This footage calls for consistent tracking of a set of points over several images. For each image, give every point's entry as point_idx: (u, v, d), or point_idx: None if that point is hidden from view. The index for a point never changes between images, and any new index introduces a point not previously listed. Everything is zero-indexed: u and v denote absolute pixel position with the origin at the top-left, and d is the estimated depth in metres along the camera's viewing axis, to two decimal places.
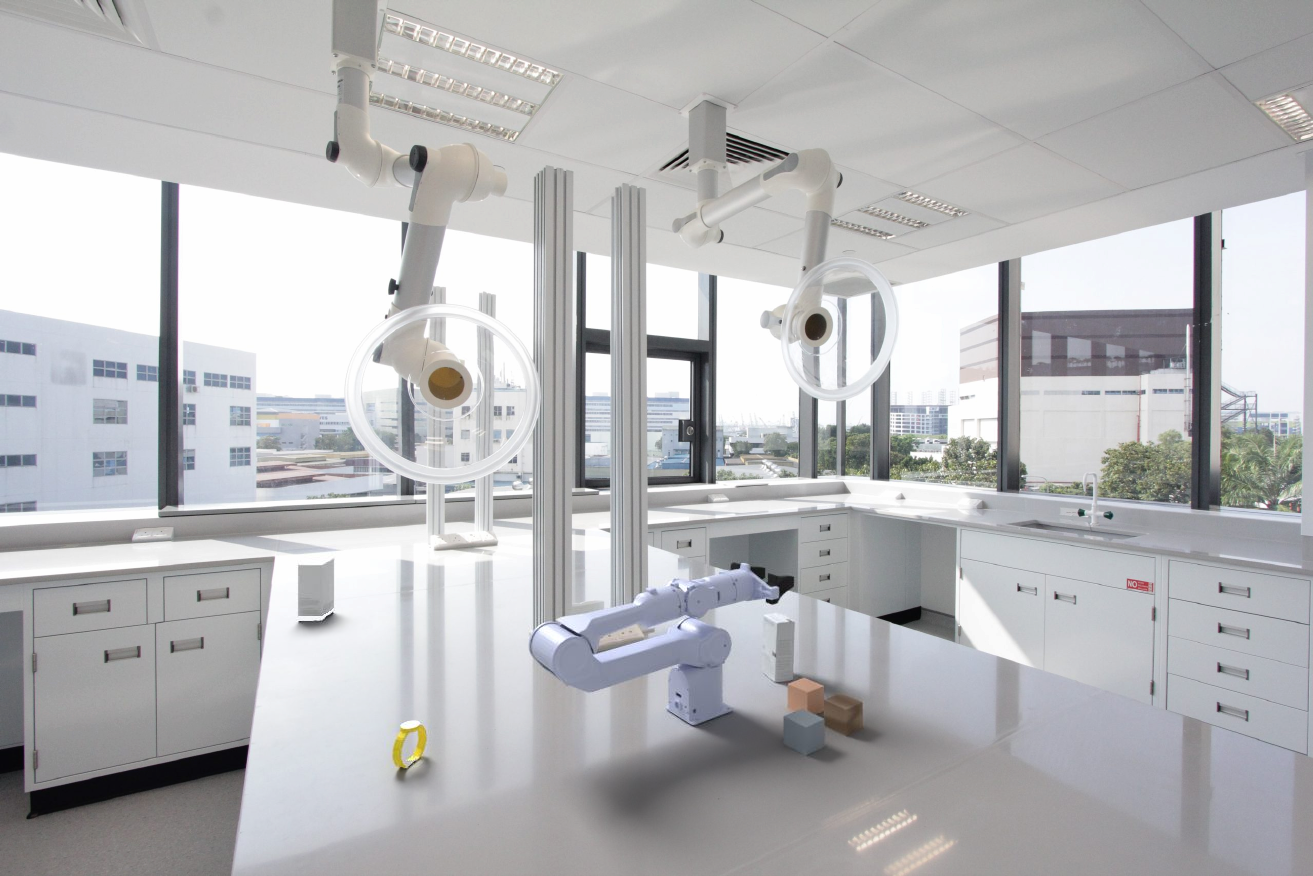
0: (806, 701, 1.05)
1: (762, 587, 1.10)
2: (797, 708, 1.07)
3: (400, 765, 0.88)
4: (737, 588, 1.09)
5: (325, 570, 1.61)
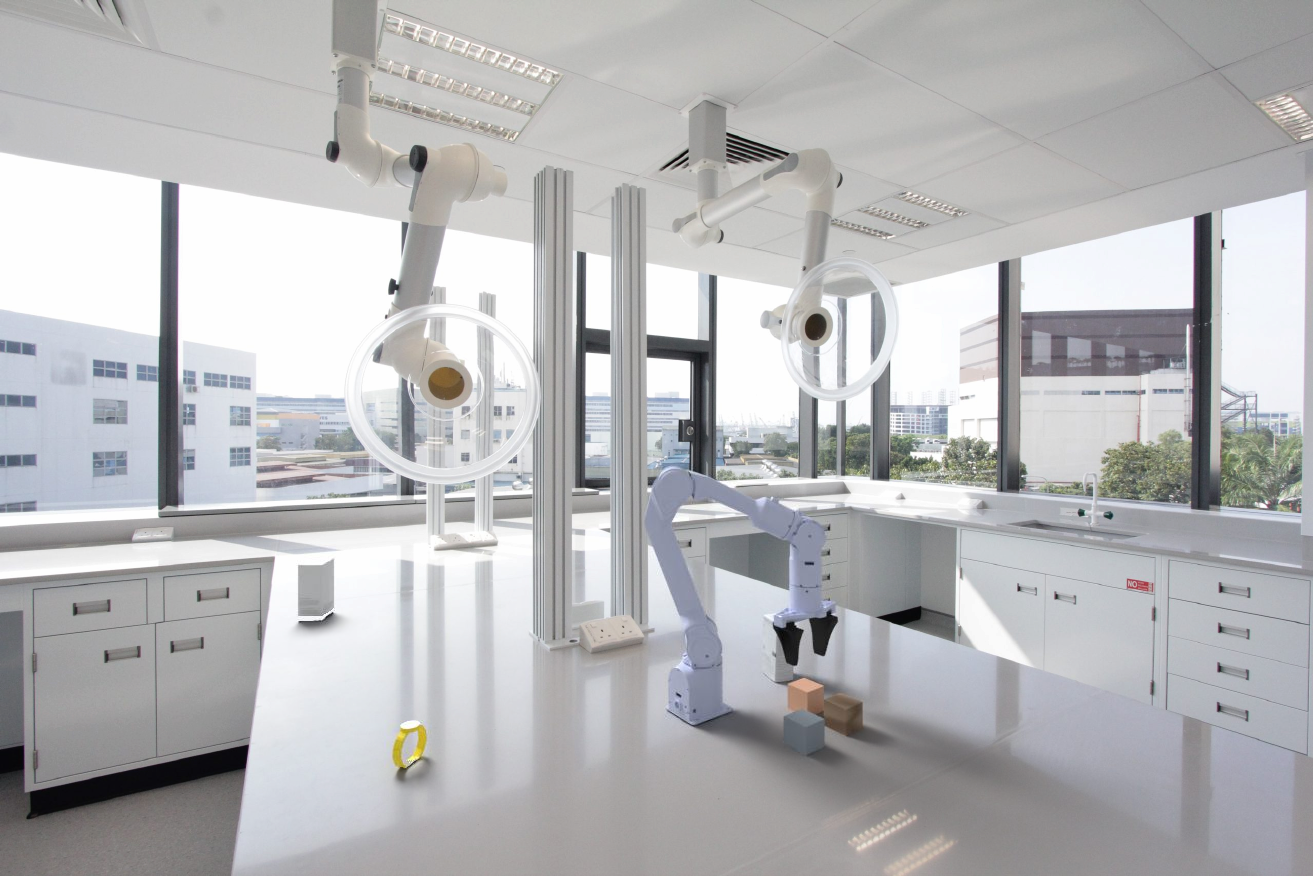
0: (805, 700, 1.05)
1: (790, 615, 1.04)
2: (797, 708, 1.07)
3: (400, 765, 0.88)
4: (798, 588, 1.05)
5: (325, 570, 1.61)
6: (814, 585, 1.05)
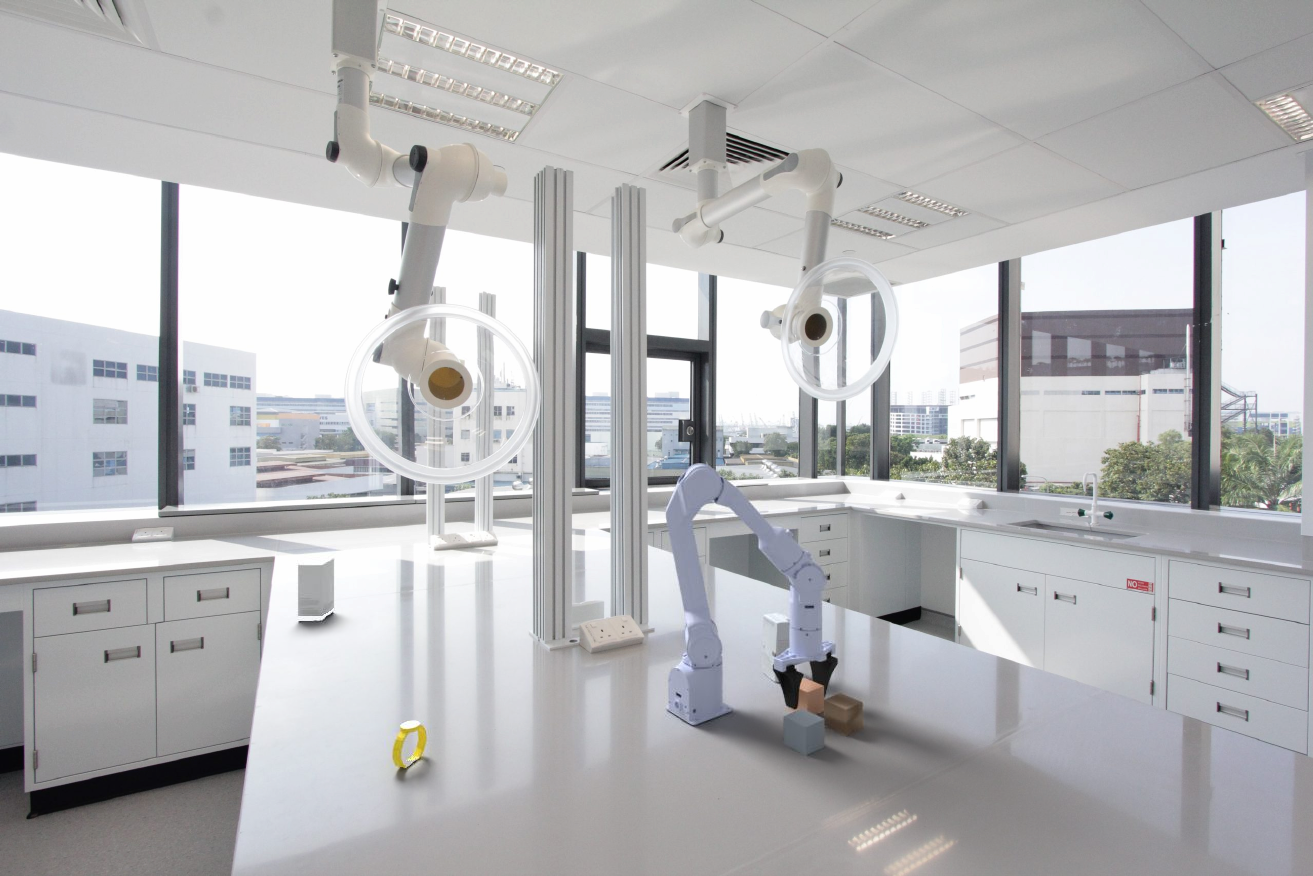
0: (805, 700, 1.05)
1: (790, 658, 1.04)
2: (797, 708, 1.07)
3: (400, 765, 0.88)
4: (798, 631, 1.05)
5: (325, 570, 1.61)
6: (814, 628, 1.05)
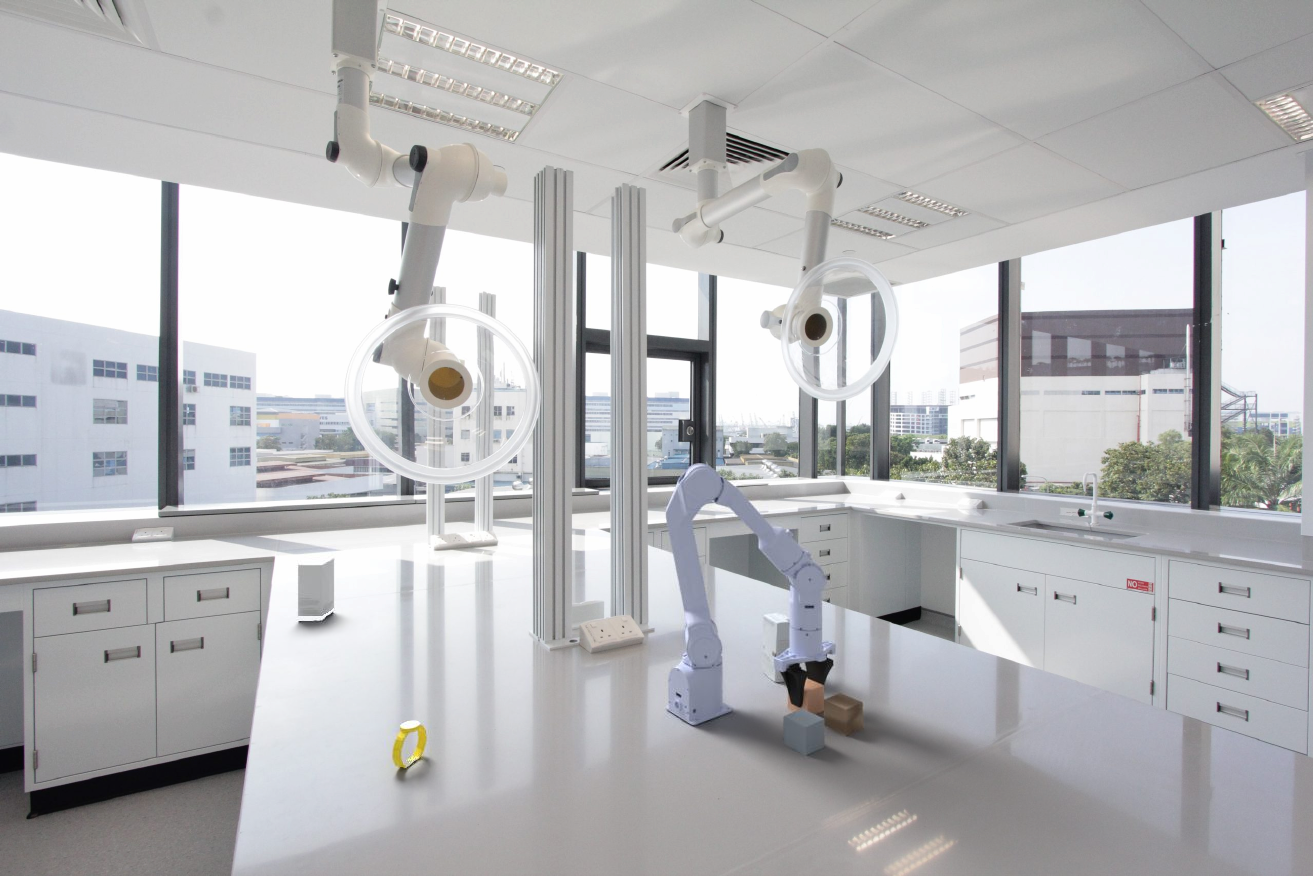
0: (806, 700, 1.05)
1: (790, 658, 1.04)
2: (797, 707, 1.07)
3: (400, 765, 0.88)
4: (798, 631, 1.05)
5: (325, 570, 1.61)
6: (814, 628, 1.05)
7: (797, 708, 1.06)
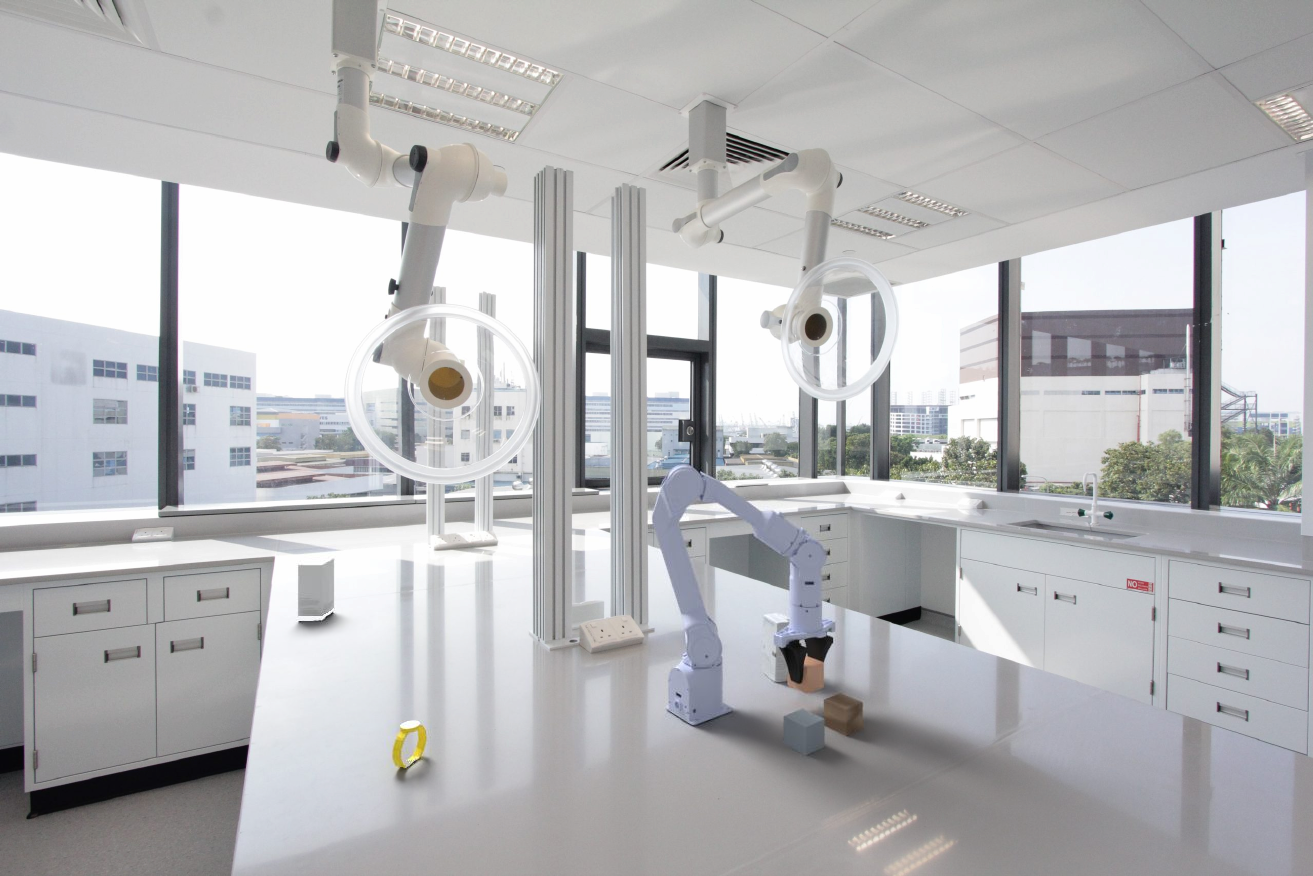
0: (805, 676, 1.05)
1: (790, 634, 1.04)
2: (796, 684, 1.07)
3: (400, 765, 0.88)
4: (798, 608, 1.05)
5: (325, 570, 1.61)
6: (814, 605, 1.05)
7: (797, 685, 1.06)
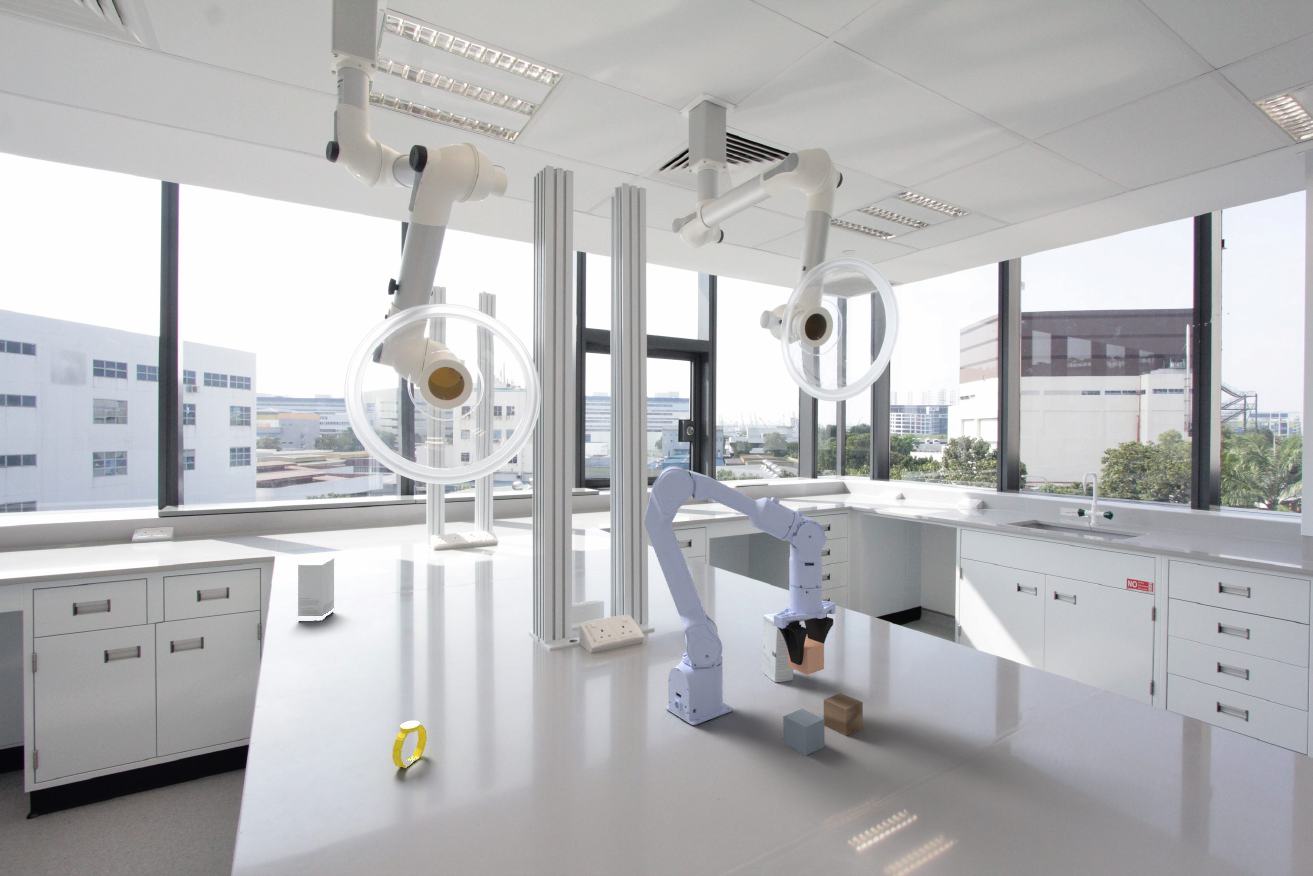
0: (805, 657, 1.05)
1: (790, 615, 1.04)
2: (797, 665, 1.06)
3: (400, 765, 0.88)
4: (798, 589, 1.05)
5: (325, 570, 1.61)
6: (814, 586, 1.05)
7: (797, 666, 1.06)
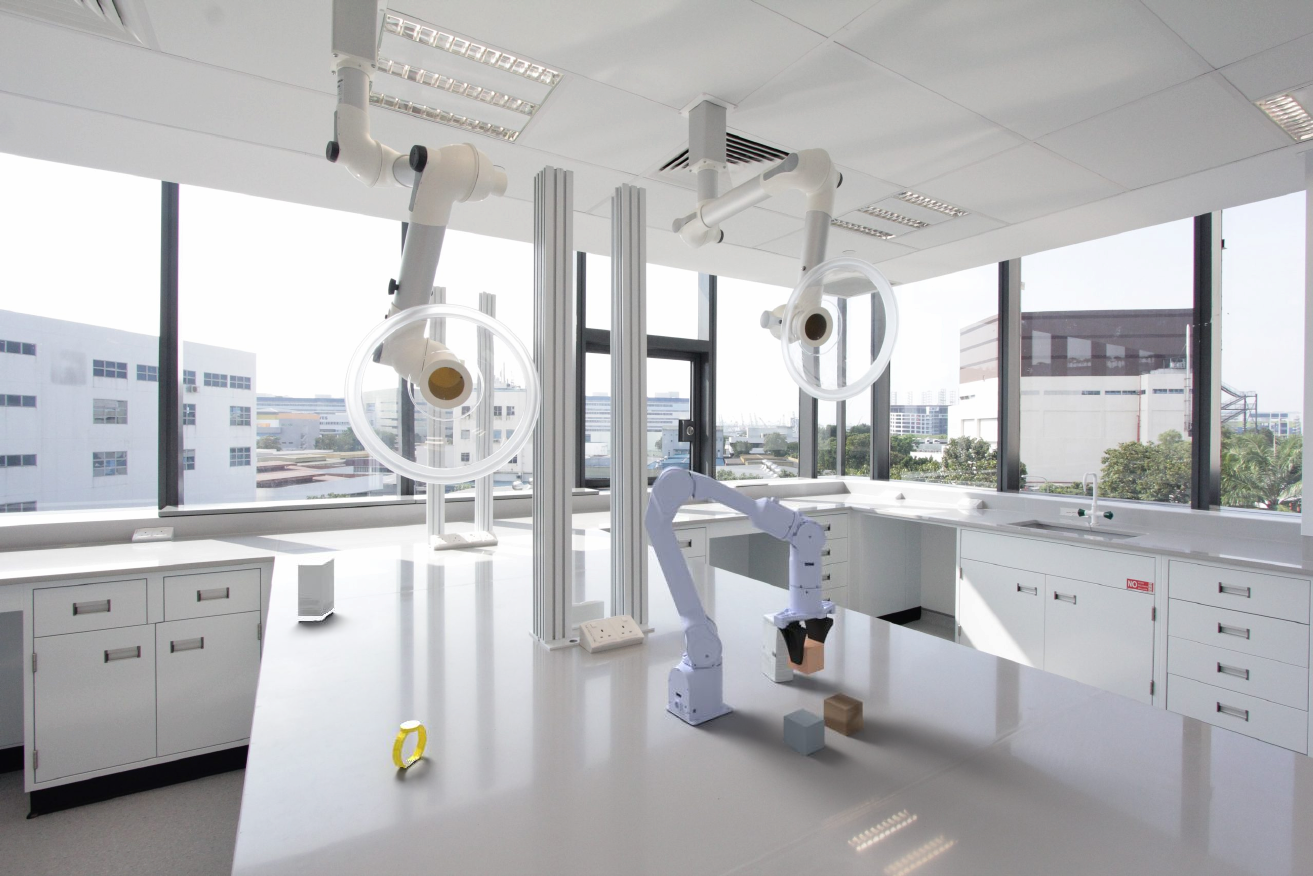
0: (805, 657, 1.05)
1: (790, 615, 1.04)
2: (797, 665, 1.06)
3: (400, 765, 0.88)
4: (798, 589, 1.05)
5: (325, 570, 1.61)
6: (814, 586, 1.05)
7: (797, 666, 1.06)
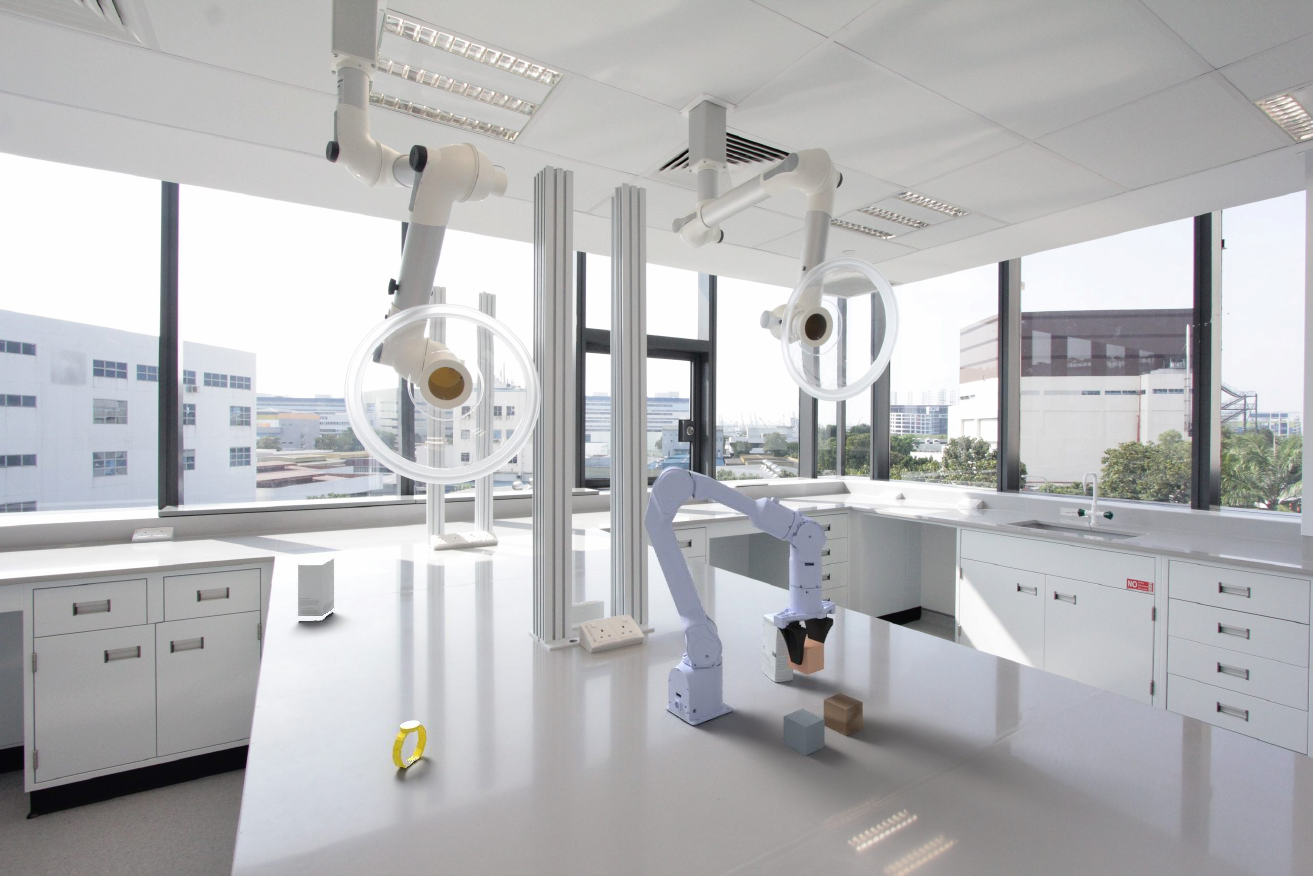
0: (805, 657, 1.05)
1: (790, 615, 1.04)
2: (797, 665, 1.06)
3: (400, 765, 0.88)
4: (798, 589, 1.05)
5: (325, 570, 1.61)
6: (814, 586, 1.05)
7: (797, 666, 1.06)
